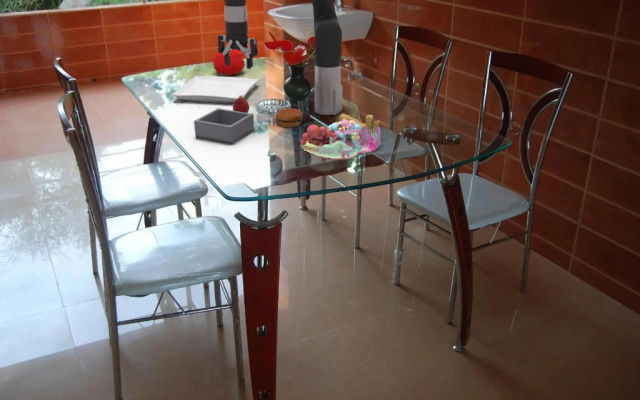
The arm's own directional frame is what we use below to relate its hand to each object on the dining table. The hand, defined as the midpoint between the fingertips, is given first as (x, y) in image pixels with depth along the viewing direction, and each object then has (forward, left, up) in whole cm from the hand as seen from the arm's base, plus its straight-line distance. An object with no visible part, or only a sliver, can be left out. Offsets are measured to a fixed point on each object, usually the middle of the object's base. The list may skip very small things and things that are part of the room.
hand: (238, 67), depth 220 cm
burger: (-18, -2, -19) cm, 26 cm away
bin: (-4, +17, -18) cm, 25 cm away
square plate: (+23, -20, -19) cm, 36 cm away
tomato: (+34, -47, -18) cm, 61 cm away
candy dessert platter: (-43, +9, -19) cm, 48 cm away
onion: (0, 0, -18) cm, 18 cm away
